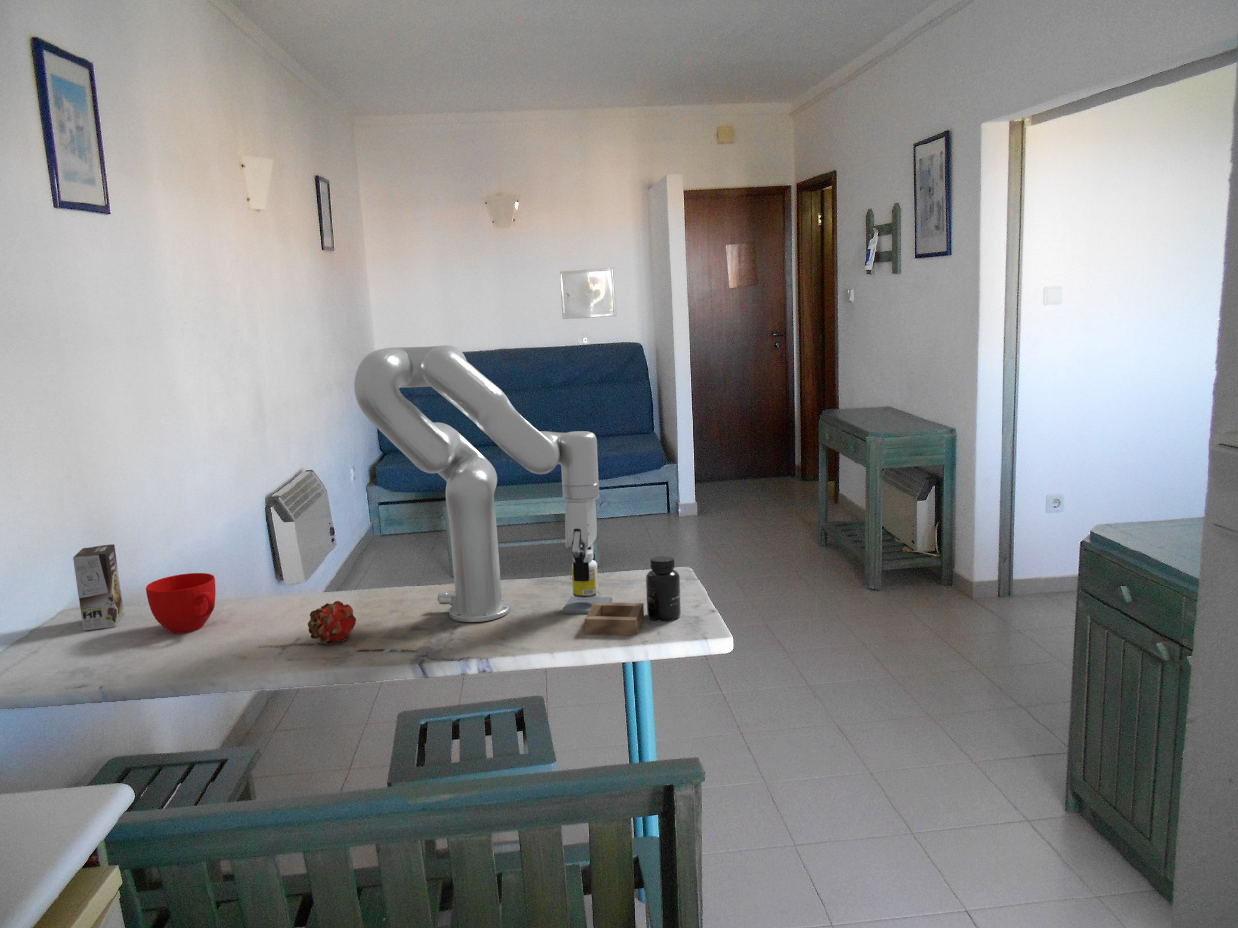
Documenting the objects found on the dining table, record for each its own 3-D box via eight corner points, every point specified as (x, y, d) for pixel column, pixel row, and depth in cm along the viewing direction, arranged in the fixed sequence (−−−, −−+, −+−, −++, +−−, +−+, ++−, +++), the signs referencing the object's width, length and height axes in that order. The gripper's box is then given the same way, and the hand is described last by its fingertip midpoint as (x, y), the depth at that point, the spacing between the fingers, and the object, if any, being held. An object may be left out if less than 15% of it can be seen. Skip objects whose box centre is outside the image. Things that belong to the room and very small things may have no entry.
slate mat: (561, 613, 188) (561, 610, 188) (571, 599, 197) (571, 596, 197) (604, 614, 187) (604, 611, 187) (612, 600, 195) (612, 597, 195)
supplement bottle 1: (582, 591, 195) (580, 547, 193) (603, 594, 192) (601, 549, 191) (568, 598, 191) (565, 553, 189) (589, 602, 188) (587, 556, 186)
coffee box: (116, 627, 192) (106, 553, 190) (82, 631, 191) (71, 557, 188) (125, 613, 201) (115, 543, 198) (93, 618, 199) (82, 546, 196)
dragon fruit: (313, 660, 173) (346, 646, 184) (345, 636, 171) (377, 623, 182) (289, 623, 174) (323, 611, 185) (321, 598, 172) (354, 588, 183)
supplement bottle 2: (681, 621, 180) (679, 562, 178) (647, 622, 181) (645, 564, 179) (680, 609, 187) (678, 553, 185) (647, 611, 187) (644, 554, 185)
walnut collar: (585, 633, 176) (584, 619, 175) (595, 616, 185) (594, 602, 185) (636, 634, 174) (635, 619, 173) (644, 617, 184) (643, 602, 183)
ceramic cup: (186, 646, 179) (180, 597, 177) (139, 633, 188) (132, 586, 186) (244, 625, 189) (239, 579, 188) (197, 614, 199) (191, 569, 197)
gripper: (572, 483, 197) (576, 564, 200) (552, 500, 180) (557, 588, 183) (606, 483, 195) (610, 564, 198) (590, 500, 179) (594, 589, 182)
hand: (584, 575), depth 191 cm, fingers open, 5 cm apart
